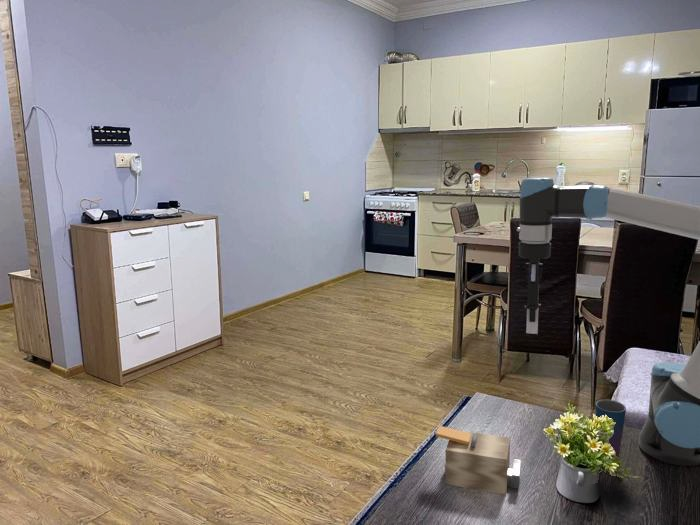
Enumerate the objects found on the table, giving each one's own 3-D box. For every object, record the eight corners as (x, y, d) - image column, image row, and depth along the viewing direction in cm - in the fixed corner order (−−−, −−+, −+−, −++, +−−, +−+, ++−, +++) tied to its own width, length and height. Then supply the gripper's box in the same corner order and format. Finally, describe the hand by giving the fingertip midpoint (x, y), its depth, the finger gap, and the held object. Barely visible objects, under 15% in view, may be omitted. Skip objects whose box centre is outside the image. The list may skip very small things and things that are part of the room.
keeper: (477, 438, 129) (477, 434, 129) (474, 448, 125) (475, 443, 125) (438, 428, 132) (439, 424, 132) (435, 437, 128) (435, 433, 128)
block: (509, 470, 131) (510, 437, 129) (506, 495, 122) (506, 459, 120) (452, 461, 136) (452, 429, 134) (445, 484, 127) (445, 449, 125)
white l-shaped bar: (520, 476, 129) (520, 459, 128) (518, 493, 123) (519, 476, 122) (448, 464, 135) (448, 448, 134) (443, 480, 129) (443, 463, 128)
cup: (598, 450, 139) (601, 397, 136) (626, 459, 134) (630, 405, 131) (588, 460, 134) (591, 406, 131) (616, 471, 129) (620, 414, 126)
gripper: (520, 236, 137) (518, 323, 142) (517, 245, 125) (514, 339, 130) (551, 237, 134) (547, 325, 139) (551, 245, 122) (547, 342, 127)
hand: (531, 332), depth 134 cm, fingers closed
